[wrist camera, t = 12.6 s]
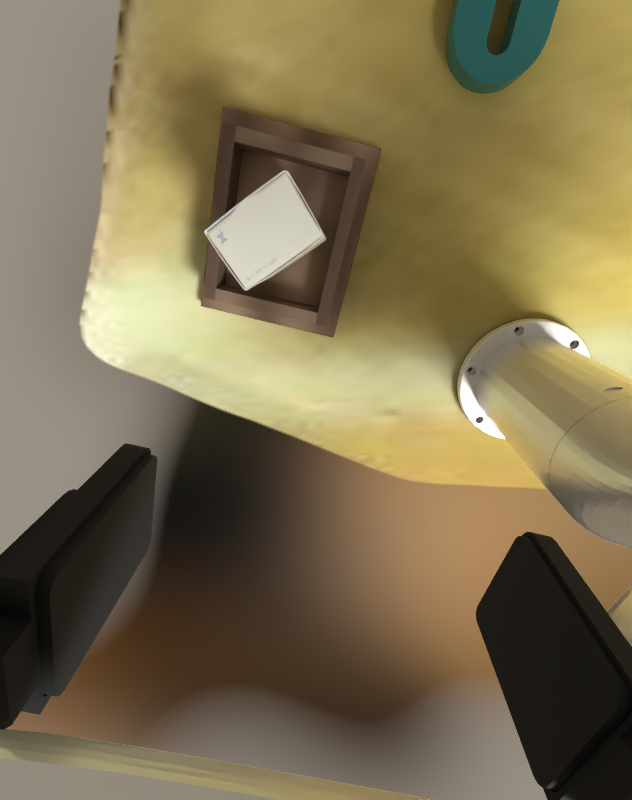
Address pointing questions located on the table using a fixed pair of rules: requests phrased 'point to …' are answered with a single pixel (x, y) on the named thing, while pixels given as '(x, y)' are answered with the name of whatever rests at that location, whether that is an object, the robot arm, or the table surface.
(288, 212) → the skincare box
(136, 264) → the table surface
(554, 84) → the table surface
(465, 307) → the table surface
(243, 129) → the holder
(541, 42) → the bracket
